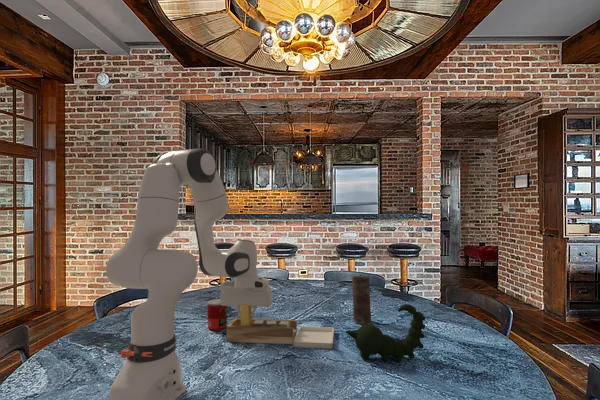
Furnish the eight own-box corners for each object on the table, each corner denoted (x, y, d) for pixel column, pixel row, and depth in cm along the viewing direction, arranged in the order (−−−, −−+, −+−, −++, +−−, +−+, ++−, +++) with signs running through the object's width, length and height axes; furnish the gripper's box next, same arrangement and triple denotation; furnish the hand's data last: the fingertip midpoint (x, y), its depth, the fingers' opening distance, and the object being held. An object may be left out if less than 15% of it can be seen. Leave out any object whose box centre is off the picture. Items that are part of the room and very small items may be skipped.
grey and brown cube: (287, 334, 131) (287, 324, 131) (278, 333, 132) (278, 323, 132) (290, 330, 135) (290, 321, 135) (281, 329, 136) (281, 320, 136)
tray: (332, 349, 123) (332, 343, 123) (293, 347, 125) (293, 341, 125) (334, 332, 139) (334, 327, 139) (299, 331, 141) (299, 326, 141)
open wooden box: (293, 344, 128) (292, 329, 128) (226, 341, 131) (226, 326, 131) (296, 334, 138) (296, 319, 138) (235, 331, 141) (235, 318, 141)
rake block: (248, 331, 133) (248, 305, 133) (240, 331, 133) (240, 304, 133) (252, 326, 138) (251, 301, 138) (244, 326, 138) (244, 301, 138)
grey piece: (276, 332, 133) (276, 323, 133) (267, 333, 132) (267, 324, 132) (275, 329, 136) (275, 320, 136) (266, 330, 136) (266, 321, 136)
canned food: (222, 331, 142) (222, 304, 142) (204, 330, 143) (203, 303, 144) (230, 325, 149) (229, 299, 149) (212, 324, 151) (212, 298, 151)
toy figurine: (416, 357, 119) (342, 351, 120) (420, 302, 119) (347, 295, 120) (425, 371, 110) (345, 363, 111) (429, 310, 110) (349, 303, 111)
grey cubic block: (262, 332, 133) (262, 323, 133) (253, 332, 133) (253, 323, 133) (264, 329, 136) (264, 320, 136) (255, 329, 137) (255, 320, 137)
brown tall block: (350, 323, 149) (349, 276, 149) (356, 318, 155) (355, 273, 156) (368, 326, 145) (367, 277, 146) (373, 321, 152) (372, 274, 152)
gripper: (217, 282, 134) (217, 319, 134) (269, 283, 131) (270, 320, 131) (222, 279, 140) (223, 313, 140) (273, 279, 138) (273, 315, 137)
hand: (246, 317), depth 136 cm, fingers closed on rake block, 3 cm apart
